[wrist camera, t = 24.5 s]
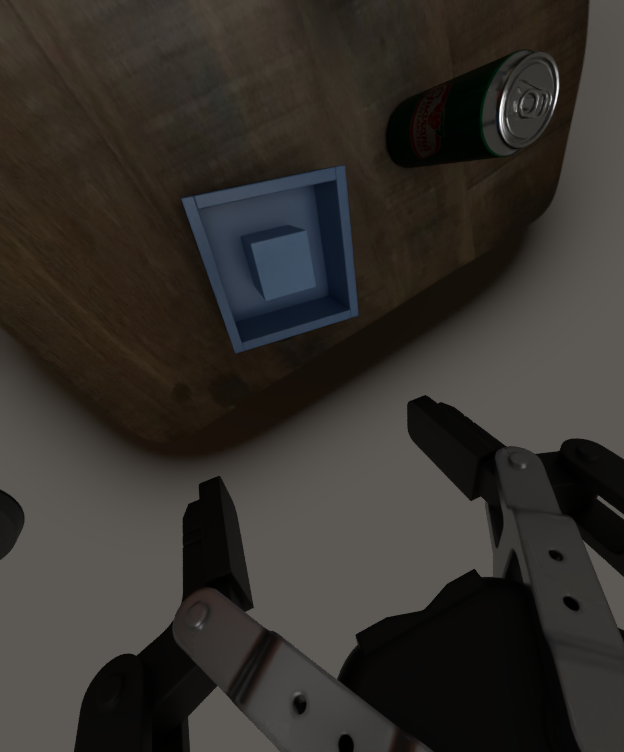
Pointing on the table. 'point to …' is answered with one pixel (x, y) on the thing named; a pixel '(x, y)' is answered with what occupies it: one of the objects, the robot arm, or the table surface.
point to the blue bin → (267, 211)
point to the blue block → (279, 261)
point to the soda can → (477, 112)
